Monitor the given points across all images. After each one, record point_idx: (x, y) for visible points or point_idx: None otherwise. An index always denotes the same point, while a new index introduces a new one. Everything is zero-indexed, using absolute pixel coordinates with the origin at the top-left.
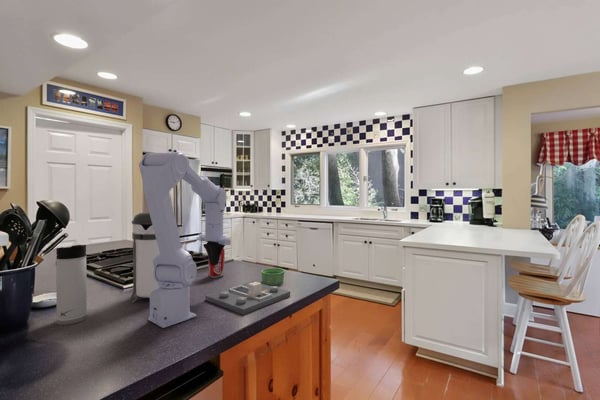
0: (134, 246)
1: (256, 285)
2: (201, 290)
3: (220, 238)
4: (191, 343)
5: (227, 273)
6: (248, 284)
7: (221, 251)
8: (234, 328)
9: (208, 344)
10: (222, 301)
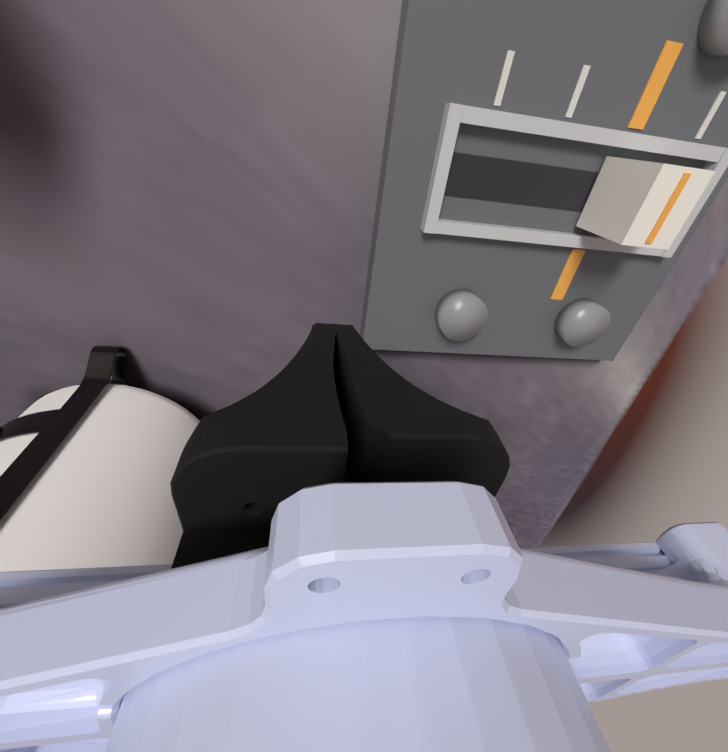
0: None
1: (678, 223)
2: (202, 253)
3: (576, 673)
4: (540, 496)
5: None
6: (619, 243)
7: (415, 390)
8: (606, 419)
9: (578, 483)
10: (488, 354)
